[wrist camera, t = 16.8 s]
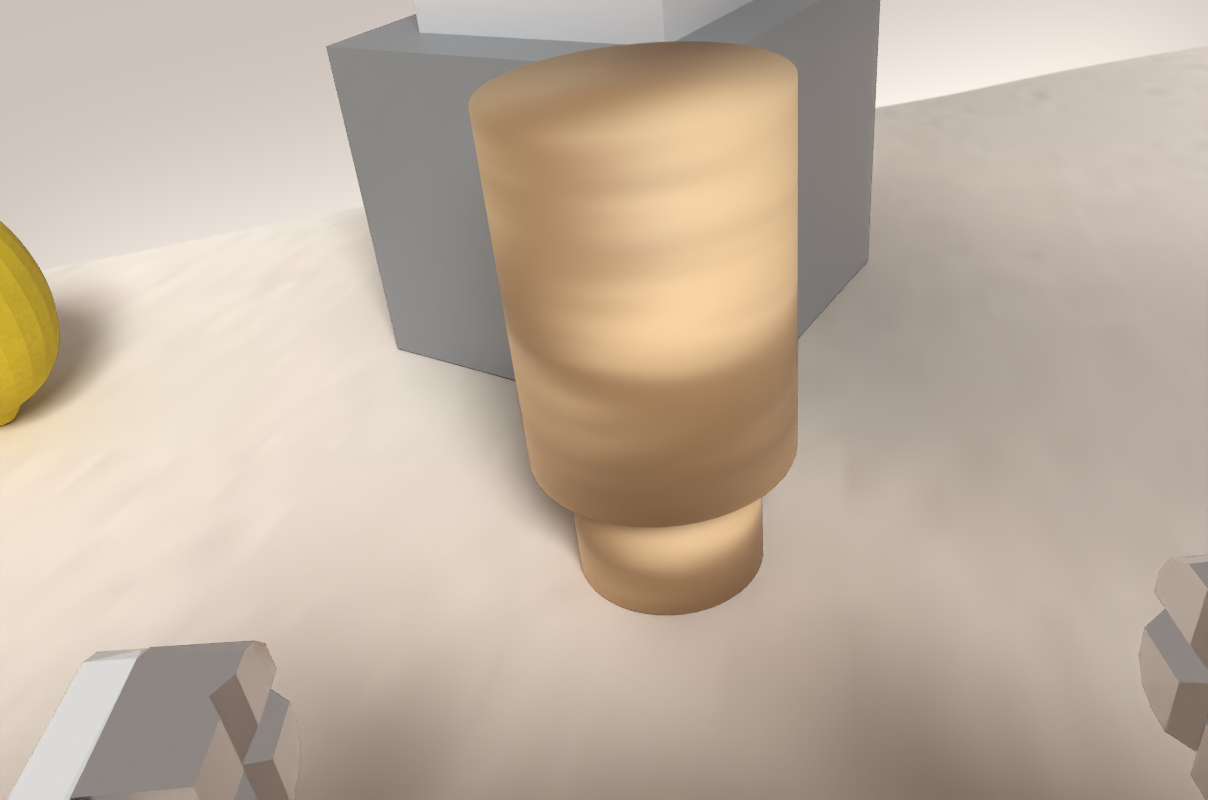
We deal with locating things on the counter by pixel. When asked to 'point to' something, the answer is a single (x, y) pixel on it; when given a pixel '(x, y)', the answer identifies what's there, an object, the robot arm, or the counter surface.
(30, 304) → the lemon
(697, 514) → the stopper
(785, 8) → the grey box with opening
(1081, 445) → the counter surface
